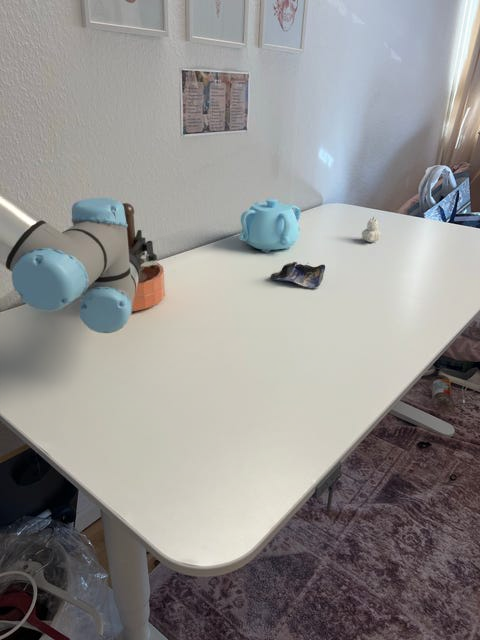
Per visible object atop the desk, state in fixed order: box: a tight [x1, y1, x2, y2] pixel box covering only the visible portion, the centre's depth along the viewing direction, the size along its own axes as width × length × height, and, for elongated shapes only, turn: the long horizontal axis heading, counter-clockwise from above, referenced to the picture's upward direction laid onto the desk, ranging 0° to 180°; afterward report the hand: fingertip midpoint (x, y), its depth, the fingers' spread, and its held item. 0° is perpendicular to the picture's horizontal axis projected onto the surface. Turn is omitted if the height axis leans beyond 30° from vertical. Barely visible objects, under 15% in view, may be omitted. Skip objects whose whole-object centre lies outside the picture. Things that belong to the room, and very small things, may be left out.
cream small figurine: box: [361, 215, 381, 243], centre depth 143 cm, size 5×7×8 cm
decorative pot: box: [238, 198, 301, 253], centre depth 137 cm, size 16×16×14 cm
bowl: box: [132, 258, 166, 312], centre depth 104 cm, size 17×17×6 cm
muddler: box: [121, 202, 147, 283], centre depth 101 cm, size 6×6×18 cm
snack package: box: [270, 261, 326, 290], centre depth 116 cm, size 12×6×12 cm
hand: (131, 236), depth 105 cm, fingers closed on muddler, 3 cm apart
